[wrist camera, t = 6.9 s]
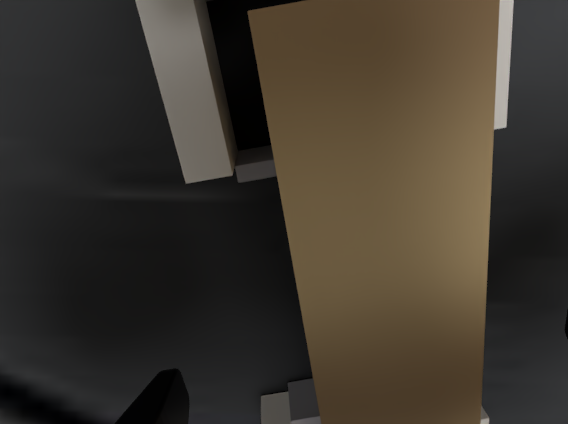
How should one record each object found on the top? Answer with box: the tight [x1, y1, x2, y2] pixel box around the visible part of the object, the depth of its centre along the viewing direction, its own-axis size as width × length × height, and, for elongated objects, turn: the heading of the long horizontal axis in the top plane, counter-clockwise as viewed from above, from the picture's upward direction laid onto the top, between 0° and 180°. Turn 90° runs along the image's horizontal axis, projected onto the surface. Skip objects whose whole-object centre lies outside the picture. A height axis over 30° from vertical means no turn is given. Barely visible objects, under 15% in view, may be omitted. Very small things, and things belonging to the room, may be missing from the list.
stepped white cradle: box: [135, 0, 514, 424], centre depth 9 cm, size 22×7×6 cm, turn 9°
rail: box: [247, 0, 500, 424], centre depth 10 cm, size 14×3×5 cm, turn 9°
